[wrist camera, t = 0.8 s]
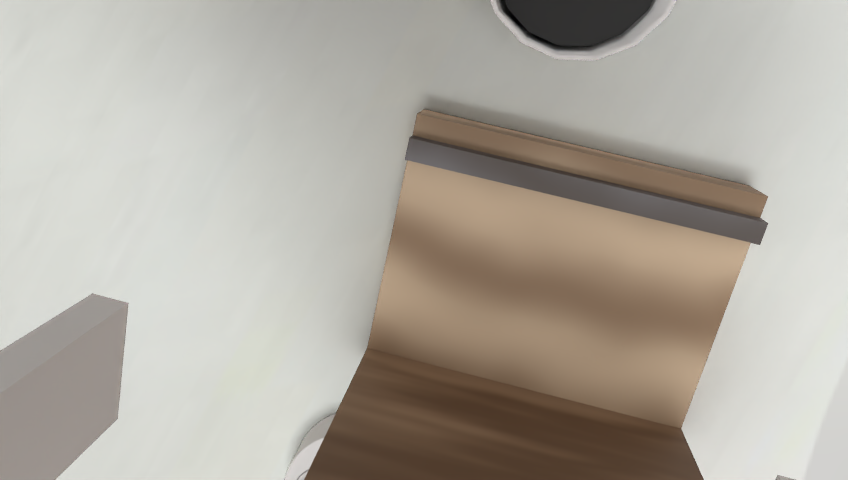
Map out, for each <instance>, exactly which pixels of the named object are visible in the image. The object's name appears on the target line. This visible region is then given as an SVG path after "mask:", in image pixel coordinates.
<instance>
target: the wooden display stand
mask: <svg viewBox="0 0 848 480" xmlns="http://www.w3.org/2000/svg"><path fill="white" fill-rule="evenodd" d="M405 160H407V164H406V169H405V173H404V178H403V183H402V188H401V192H400V197H399V202H398V206H397V211H396V216H395V220H394V225H393V230H392V234H391V239H390V244H389V248H388V253H387V258H386V263H385V267H384V272H383V277H382V281H381V286H380V291H379V295H378V300H377V305H376V309H375V314H374V319H373V324H372V328H371V333H370V338H369V342H368V347H367V350H366V352H365V354H364V356H363V358H362V360H361V362H360V364H359V366H358V368H357V370H356V373H355V375H354V377H353V379H352V381H351V383H350V385H349V387H348V389H347V391H346V393H345V395H344V398H343V400H342V402H341V404H340V406H339V408H338V410H337V412H336V414H335V416H334V418H333V420H332V423H331V425H330V427H329V429H328V431H327V433H326V435H325V437H324V439H323V441H322V443H321V445H320V448H319V450H318V452H317V454H316V456H315V458H314V460H313V462H312V464H311V466H310V468H309V470H308V472H307V475H306V477H305V479H304V480H704V479H703V477H702V475H701V473H700V470H699V468H698V466H697V464H696V461H695V459H694V457H693V455H692V452H691V450H690V448H689V446H688V443H687V441H686V439H685V437H684V435H683V432H682V430H681V427H682V424H683V422H684V419H685V416H686V414H687V411H688V408H689V406H690V403H691V400H692V398H693V395H694V392H695V390H696V387H697V384H698V382H699V379H700V376H701V374H702V371H703V368H704V366H705V363H706V360H707V358H708V355H709V352H710V350H711V347H712V344H713V342H714V339H715V336H716V334H717V331H718V328H719V326H720V323H721V320H722V318H723V315H724V312H725V310H726V307H727V305H728V302H729V299H730V297H731V294H732V291H733V289H734V286H735V283H736V281H737V278H738V275H739V273H740V270H741V267H742V265H743V262H744V259H745V257H746V254H747V251H748V249H749V246H750V243H754V244H758V245H760V243H761V241H762V238H763V235H764V233H765V230H766V227H767V225H768V223H767V222H765V221H764V220H762V219H761V218H760V217H761V214H762V211H763V209H764V206H765V203H766V201H767V198H768V196H766V195H765V194H763V193H761V192H759V191H758V190H756V189H754V188H752V187H751V186H748V185H744V184H740V183H736V182H731V181H727V180H723V179H719V178H714V177H710V176H706V175H702V174H697V173H693V172H689V171H685V170H680V169H676V168H672V167H668V166H663V165H659V164H655V163H651V162H646V161H642V160H638V159H634V158H629V157H625V156H621V155H617V154H612V153H608V152H604V151H600V150H595V149H591V148H587V147H583V146H578V145H574V144H570V143H566V142H561V141H557V140H553V139H549V138H544V137H540V136H536V135H532V134H527V133H523V132H519V131H515V130H510V129H506V128H502V127H498V126H493V125H489V124H485V123H481V122H476V121H472V120H468V119H463V118H459V117H455V116H451V115H446V114H442V113H438V112H434V111H429V110H425V109H423V110H422V111H421V112H419V113H418V114H417V117H416V122H415V127H414V131H413V135H412V136H411V137H410V138H409V143H408V148H407V152H406V157H405Z"/></svg>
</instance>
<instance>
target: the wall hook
mask: <svg viewBox="0 0 848 480" xmlns="http://www.w3.org/2000/svg"><path fill="white" fill-rule="evenodd" d="M335 414H336V413H335ZM335 414H332V415H330V416H328V417H326V418H324V419H323V420H321V421H320V422H318V423H317V424H316V425H315V426H314V427H313V428H312V429H311V430H310V431H309V432H308V433H307V435H306V436H305V437H304V439H303V441H302V443H301V444H300V446H299V448H298V450H297V452H296V454H295V456H294V458H293V460H292V461H291V463H290V465H289V467H288V469H287V472H286V475H285V478H284V480H304V479H305V477H306V475H307V472H308V470H309V468H310V466H311V464H312V462H313V460H314V458H315V456H316V454H317V452H318V450H319V448H320V445H321V443H322V441H323V439H324V437H325V435H326V433H327V431H328V429H329V427H330V425H331V423H332V420H333V418H334V416H335Z"/></svg>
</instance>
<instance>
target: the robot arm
mask: <svg viewBox="0 0 848 480" xmlns="http://www.w3.org/2000/svg"><path fill="white" fill-rule="evenodd" d="M127 312H128V303H126V302H122V301H119V300H115V299H111V298H107V297H104V296H100V295H96V294H91V295H89V296H88V297H86V298H85V299H83V300H81V301H80V302H78V303H77V304H75V305H73V306H72V307H70V308H68V309H67V310H65V311H64V312H62V313H60V314H59V315H57V316H56V317H54V318H52V319H51V320H49V321H48V322H46V323H44V324H43V325H41V326H39V327H38V328H36V329H35V330H33V331H31V332H30V333H28V334H27V335H25V336H23V337H22V338H20V339H19V340H17V341H15V342H14V343H12V344H10V345H9V346H7V347H6V348H4V349H2V350H1V351H0V480H55V479H56V478H57V477H58V476H59V475H60V474H61V473H62V472H64V471H65V470H66V469H67V468H68V467H69V466H70V465H71V464H72V463H73V462H74V461H75V460H76V459H77V458H78V457H79V456H80V455H81V454H82V453H83V452H84V451H85V450H86V449H87V448H88V447H89V446H90V445H91V444H92V443H93V442H94V441H95V440H96V439H97V438H98V437H99V436H100V435H101V434H102V433H103V432H105V431H106V430H107V429H108V428H109V427H110V426H111V425H112V424H113V423H114V422H115V421H116V420H117V419H118V409H119V398H120V387H121V377H122V366H123V355H124V344H125V334H126V323H127ZM776 480H795V479H791V478H787V477H783V476H780V475H777V477H776Z"/></svg>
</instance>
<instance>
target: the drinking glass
mask: <svg viewBox="0 0 848 480" xmlns="http://www.w3.org/2000/svg"><path fill="white" fill-rule="evenodd" d="M490 1H491V4H492V7H493V10H494V13H495V14H496V15H497V16H498V18H499V19H500V20H501V21H502V22H503V23H504V24H505V25H506V27H507V28H508V29H509V30H510V31H511V32H512V33H513V34H514V36H515V37H516V38H517V39H518V40H519V41H520V42H521V43H522V44H524V45H527V46H529V47H531V48H533V49H535V50H537V51H540V52H542V53H544V54H546V55H548V56H550V57H553V58H555V59H560V60H599V59H602V58H604V57H607V56H610V55H612V54H615V53H618V52H620V51H623V50H625V49H628V48H631V47H633V46H636V45H637V44H638V43H639V42H640V41H641V40H643V39H644V38H645V37H646V36H647V35H648V34H649V33H650V32H651V31H653V30H654V29H655V28H656V27H657V26H658V25H659V24H660V23H662V22H663V21H664V20H665V19H666V18H667V17H668V16H669V14H670V12H671V10H672V8H673V7H674V5H675V3H676V1H677V0H490Z"/></svg>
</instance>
